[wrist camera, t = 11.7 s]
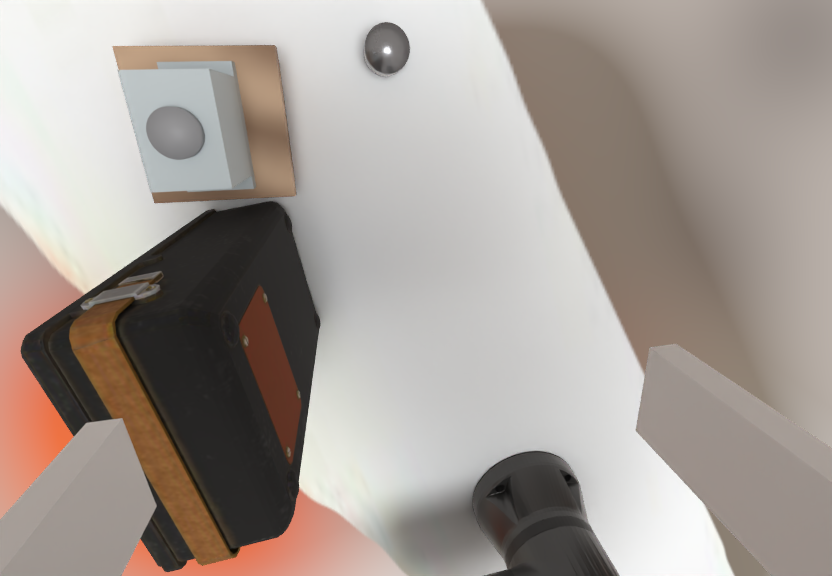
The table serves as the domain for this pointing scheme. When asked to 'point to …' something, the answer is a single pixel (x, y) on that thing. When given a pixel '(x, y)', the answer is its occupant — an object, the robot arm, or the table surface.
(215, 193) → the stand
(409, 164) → the table surface
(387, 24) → the dark grey metallic dome
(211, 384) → the black carrying case
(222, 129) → the housing
